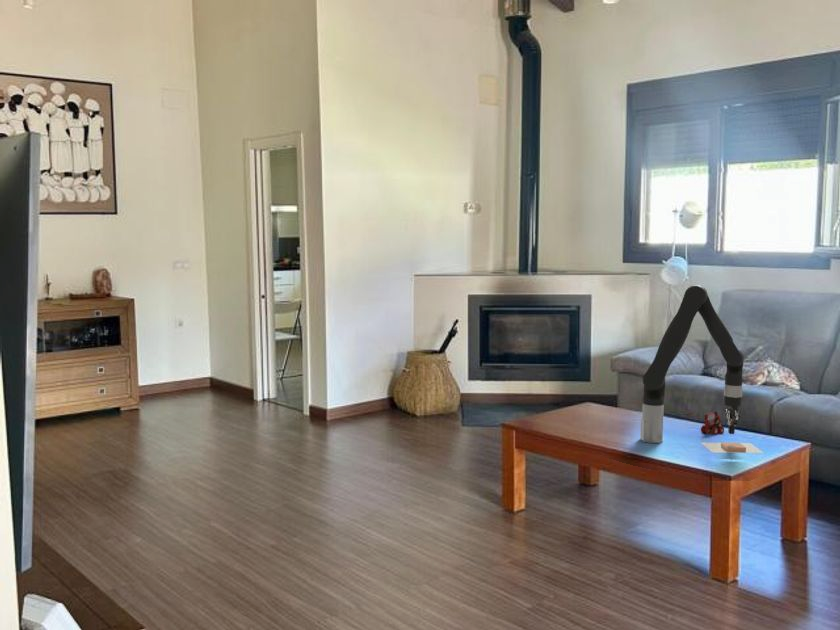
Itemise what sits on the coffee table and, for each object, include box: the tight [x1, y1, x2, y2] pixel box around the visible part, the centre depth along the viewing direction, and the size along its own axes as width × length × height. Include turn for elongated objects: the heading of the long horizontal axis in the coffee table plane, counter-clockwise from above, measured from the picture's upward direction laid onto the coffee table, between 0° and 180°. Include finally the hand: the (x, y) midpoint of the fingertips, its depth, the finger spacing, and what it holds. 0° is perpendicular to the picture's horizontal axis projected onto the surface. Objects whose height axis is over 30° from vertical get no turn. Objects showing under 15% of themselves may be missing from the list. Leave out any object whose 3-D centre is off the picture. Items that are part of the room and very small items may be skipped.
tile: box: [720, 442, 746, 451], centre depth 343 cm, size 8×2×8 cm
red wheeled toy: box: [700, 411, 725, 435], centre depth 372 cm, size 7×12×10 cm, turn 129°
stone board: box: [700, 442, 764, 454], centre depth 345 cm, size 22×16×1 cm
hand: (731, 433), depth 345 cm, fingers closed
